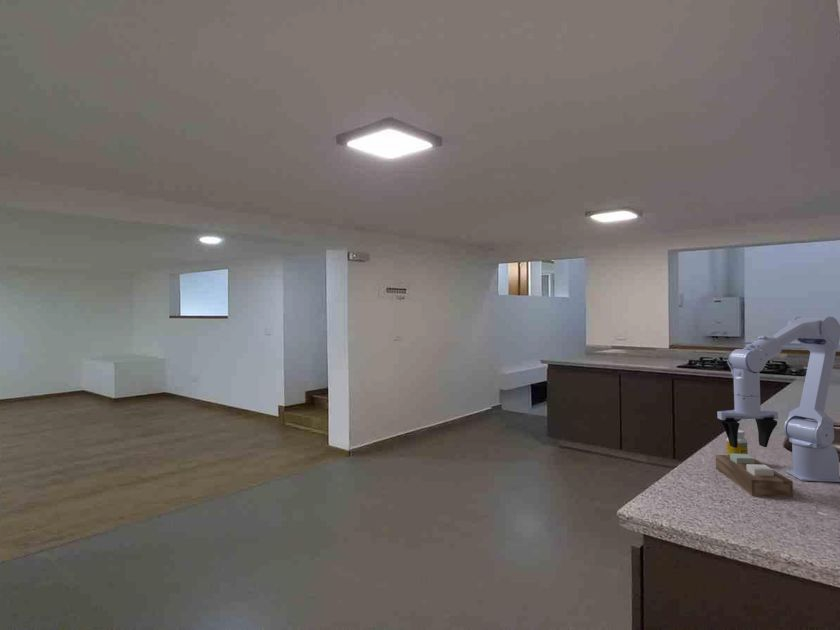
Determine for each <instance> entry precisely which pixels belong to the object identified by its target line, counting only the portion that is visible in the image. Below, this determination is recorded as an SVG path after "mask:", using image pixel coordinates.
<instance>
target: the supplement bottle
mask: <svg viewBox="0 0 840 630" xmlns="http://www.w3.org/2000/svg"><path fill="white" fill-rule="evenodd" d="M725 441H726V455H730V454H748V455H749V451H748V449H749V448H748V440H747V438H746V437H745V431H744V430H741V429H738V446H737V448H734V447H732V446H730V443H729V440H728V437H726V440H725Z"/></svg>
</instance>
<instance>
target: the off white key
mask: <svg viewBox="0 0 840 630" xmlns="http://www.w3.org/2000/svg"><path fill="white" fill-rule="evenodd" d="M746 469H747V471H748V472H749V473H751V474H752V475H754V476H774V471H775V470H774V469H773V468H771V467H770V466H768V465H766V464H764V465H757V464H746Z"/></svg>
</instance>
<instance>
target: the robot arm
mask: <svg viewBox="0 0 840 630" xmlns="http://www.w3.org/2000/svg"><path fill="white" fill-rule="evenodd" d="M795 341H797V342H798V343H799V344H800V345H801V346H802V347H803V348H806V349H807V350H808V351H809V358H808V362H807V367H806V372H805V373H806V374H805V379H804V382H803V388H802V392H801V398H800V403H799V406H798V407H796V408H794V409H792V410H791V411H789V413H788V417H787V419H786V420H785V422H784V424H783V432H784V435H785V436H786V437H787V438H788V439H789V442H790V443H791V444H792V445H791V447H792V448H791V450H792V452H791V453H792V454H791V455H792V469H786V470H785V472H786V473H788V474H790V475H791V476H792V477H795V478H796V479H798V480H799V481H802V482H803V481H805V482H807V481H808V482H829V483H831V482H832V483H833V482H834V483H840V458H839V454H838V451H837V449H836V448H835V447H834V446H832V445H831V444H832V443H833V442H834V439H835V432H834V423H835V421H834V420H833V419H832V418H831V417H830V416H829V415H828V414H827V413H826V412H825V409H826V403H827V398H828V393H829V388H830V383H831V379H832V373H833V369H834V364H835V363H834V362H835V357H836V352H837V349H838V348H839V345H840V323H839V321H838V319H837V318H836V317H834V316H823V317H822V316H821V317H820V316H814V317H813V316H812V317H811V316H810V317H809V316H806V317H802V316H795V317H793V318H792V319H789V320H788V322H787V325H786V326H783V328H781V329H780V330H778V332H776V333H774V334H773V335H759V336H758V338H757V339H756V340H755V341H753V342H752V343H748V344H746V345H745V347H743V348H742V349H741V348H736V349H734V350H733V351H732V352H731V353H729V356H728V359H727V360H726V361H727V365H728V367H729V368H730V372H731V373H730V375H731V376H732V377H733V395H734V396H733V401H734V402H733V403H734V405H733V407H734V409H730V410H719V411H717V412H716V413H717V414H716V415H717V419H719V420H718V421H719V422H720V424H721V426H722V427H723V429H724V431H725V434H726V436H727V437H728V440H729V443H730V446H732V447H734V448H737V446H738V430H740V428H739V427H740V422H738V421H737V420H755V422H756V427H757V435H758V444H759V445H758V446H761V447H763V448H768V445H769V440H770V439H771V435H772V433H773V432H774V430H775V428H776V427H777V426H778V420H779V411H777V410H773V409H771V410H770V409H769V410H768V409H766V410H765V409H761V386H760V385H761V381H760V380H761V379H760V378H761V377H760V376H761V374H760V372H762V371H763V370H764V368H765V366H766V364H767V363H768V361H770V360H771V359H773V358H775V357H776V356H778V355H779V354H781V353H782V350H783V347H784V346H786V345H789V344H791V343H792V342H795ZM727 437H726V438H727Z"/></svg>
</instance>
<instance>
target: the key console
mask: <svg viewBox="0 0 840 630" xmlns="http://www.w3.org/2000/svg"><path fill="white" fill-rule="evenodd" d="M755 464H757V465H765V464H764V463H763V462H762V461H760V460H758V459H756V458H755ZM715 469H716V470H718V472H720V473H722V475H724V476H725V477H727V478H728V479H730V481H732V482H733V483H735V484H736V485H737V486H738V487H740V488H741V489H742V490H744V491H745V492H746V493H748V494H749V495H750V496H751V497H767V498H768V497H769V498H772V497H773V498H789V499H790V498H791V499H793V498H794V490H793V489H794V486H793V485H794V484H793V482H794V481H793V480H791V479H789V478H788V477H786V476H785V475H783V474H781V473H779V472H778V471H776V470H774V476H754V475H752V474H751V473H749V472H748V471H747V469H746V464H736V463H734V462H733V461H731V460H730V455H727V454H715Z"/></svg>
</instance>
